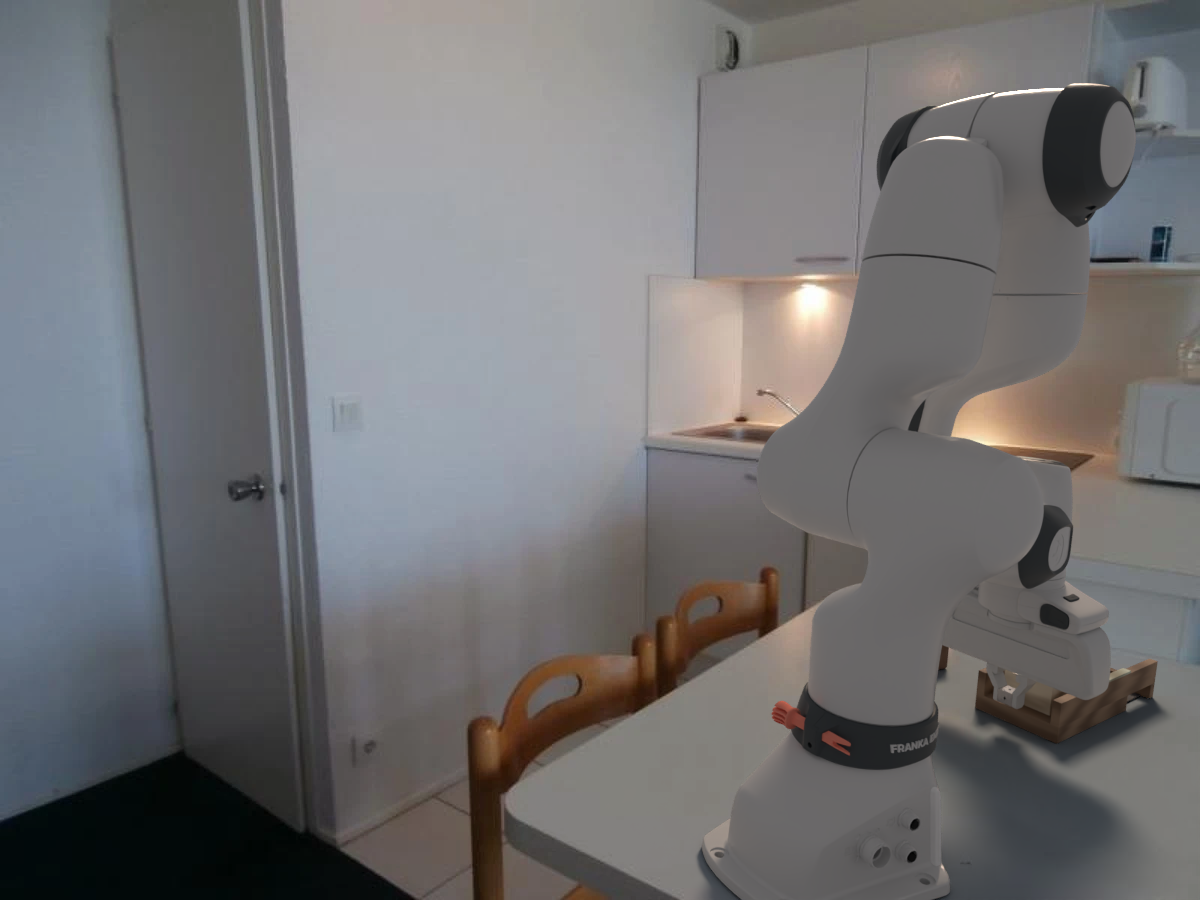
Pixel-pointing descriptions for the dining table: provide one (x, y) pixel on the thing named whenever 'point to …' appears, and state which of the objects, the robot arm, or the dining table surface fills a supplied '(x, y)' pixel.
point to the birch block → (1036, 694)
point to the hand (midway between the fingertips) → (1008, 703)
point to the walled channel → (1072, 703)
